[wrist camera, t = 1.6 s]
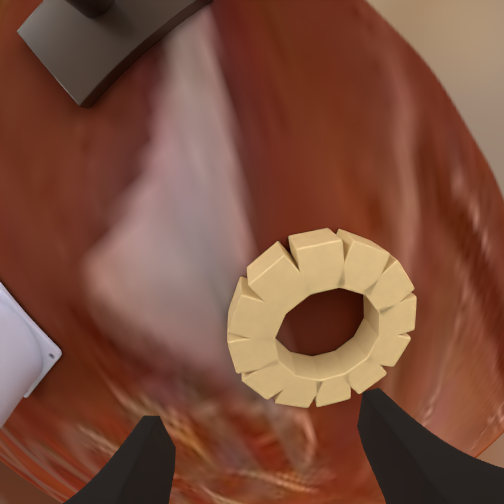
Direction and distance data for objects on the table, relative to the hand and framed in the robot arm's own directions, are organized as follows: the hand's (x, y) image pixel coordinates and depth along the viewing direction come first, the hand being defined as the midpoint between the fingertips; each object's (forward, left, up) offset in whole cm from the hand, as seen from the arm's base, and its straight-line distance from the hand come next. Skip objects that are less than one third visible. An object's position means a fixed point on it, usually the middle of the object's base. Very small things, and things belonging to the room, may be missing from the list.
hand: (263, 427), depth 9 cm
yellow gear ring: (+3, -3, -8) cm, 9 cm away
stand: (+6, +19, -8) cm, 22 cm away
